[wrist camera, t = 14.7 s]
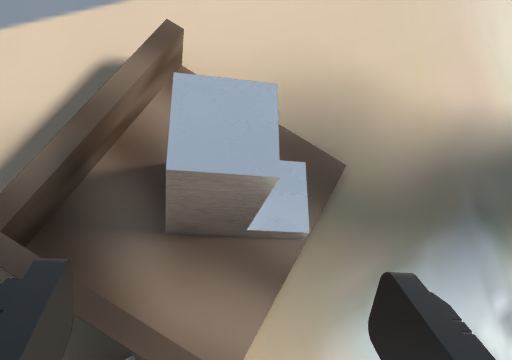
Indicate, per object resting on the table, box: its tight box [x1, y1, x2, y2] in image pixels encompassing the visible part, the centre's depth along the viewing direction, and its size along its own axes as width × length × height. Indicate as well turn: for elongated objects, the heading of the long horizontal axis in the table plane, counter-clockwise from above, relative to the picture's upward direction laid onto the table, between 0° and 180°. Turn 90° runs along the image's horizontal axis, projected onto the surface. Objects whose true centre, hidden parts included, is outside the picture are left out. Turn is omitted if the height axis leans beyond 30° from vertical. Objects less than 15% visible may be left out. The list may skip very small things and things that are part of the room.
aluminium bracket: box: [165, 72, 310, 239], centre depth 22 cm, size 8×4×9 cm, turn 90°
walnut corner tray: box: [0, 19, 346, 360], centre depth 24 cm, size 16×14×4 cm
